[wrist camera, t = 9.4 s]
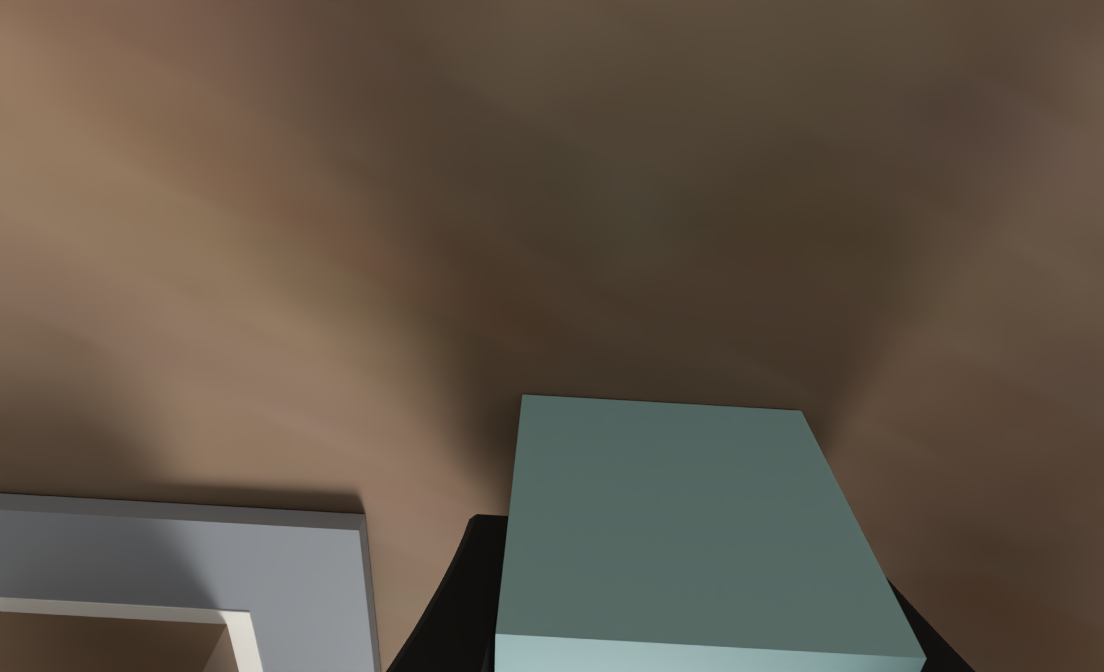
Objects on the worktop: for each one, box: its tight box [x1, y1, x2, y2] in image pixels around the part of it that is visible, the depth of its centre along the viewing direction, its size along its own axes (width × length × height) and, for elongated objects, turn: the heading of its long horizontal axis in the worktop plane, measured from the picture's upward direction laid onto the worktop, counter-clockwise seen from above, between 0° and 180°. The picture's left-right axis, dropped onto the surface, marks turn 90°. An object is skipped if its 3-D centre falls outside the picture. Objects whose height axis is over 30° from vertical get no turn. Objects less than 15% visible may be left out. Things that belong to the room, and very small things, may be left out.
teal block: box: [495, 394, 927, 672], centre depth 10 cm, size 4×4×4 cm
